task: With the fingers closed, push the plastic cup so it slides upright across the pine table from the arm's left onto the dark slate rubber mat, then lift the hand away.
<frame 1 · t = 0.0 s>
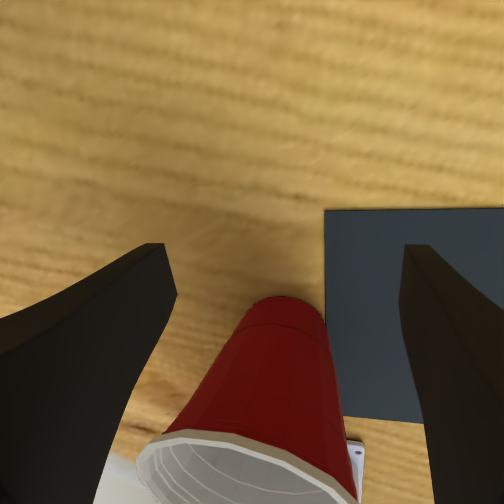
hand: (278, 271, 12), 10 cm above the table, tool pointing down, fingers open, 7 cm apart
plastic cup: (282, 326, 27), on the table, touching mat
mat: (490, 338, 24), on the table
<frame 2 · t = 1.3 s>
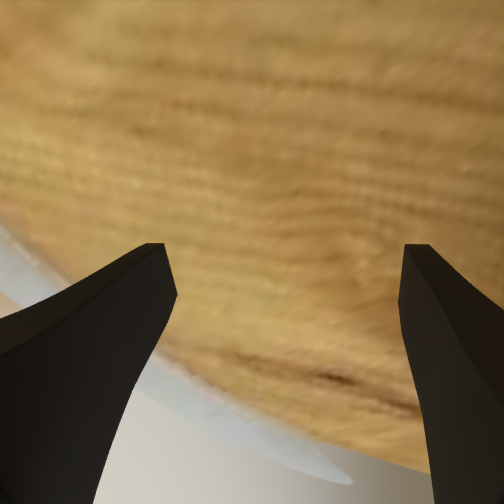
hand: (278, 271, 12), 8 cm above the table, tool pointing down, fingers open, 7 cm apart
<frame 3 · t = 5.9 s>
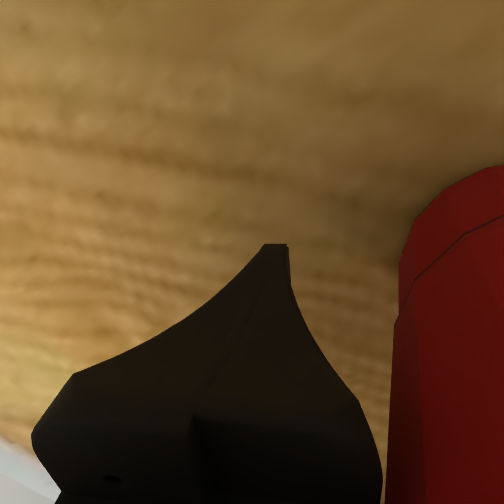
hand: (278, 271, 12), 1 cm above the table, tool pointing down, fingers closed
plastic cup: (492, 251, 12), on the table, touching gripper, mat
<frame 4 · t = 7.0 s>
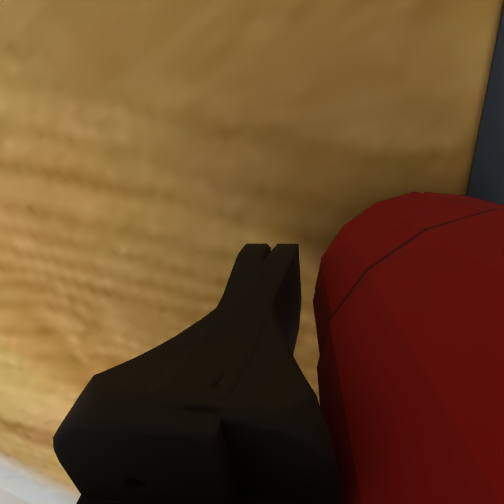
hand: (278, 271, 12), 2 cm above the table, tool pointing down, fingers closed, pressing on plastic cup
plastic cup: (393, 277, 12), point 1 cm above the table, touching gripper, mat
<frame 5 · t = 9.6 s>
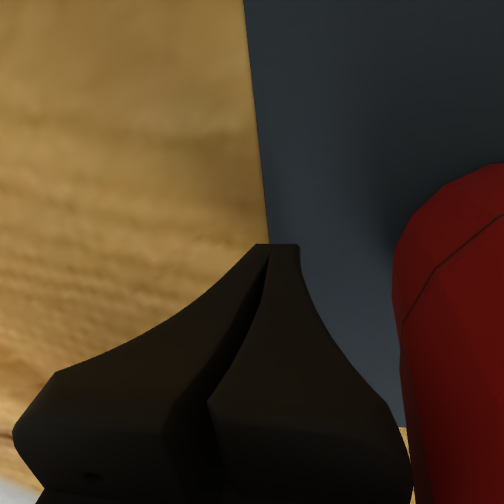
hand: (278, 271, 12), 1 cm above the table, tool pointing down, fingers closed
plastic cup: (482, 258, 11), resting on mat, touching gripper
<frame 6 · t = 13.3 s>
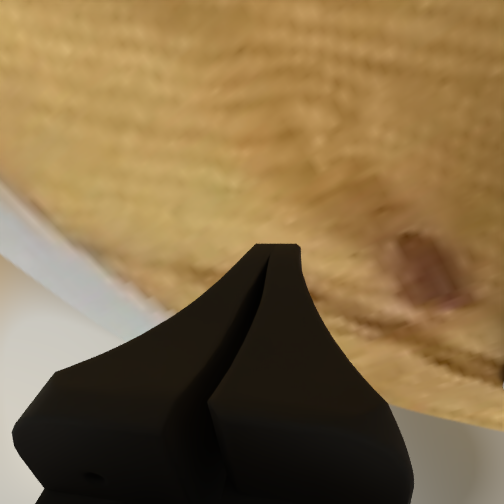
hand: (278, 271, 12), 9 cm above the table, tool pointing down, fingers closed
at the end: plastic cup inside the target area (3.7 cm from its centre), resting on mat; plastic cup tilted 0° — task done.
